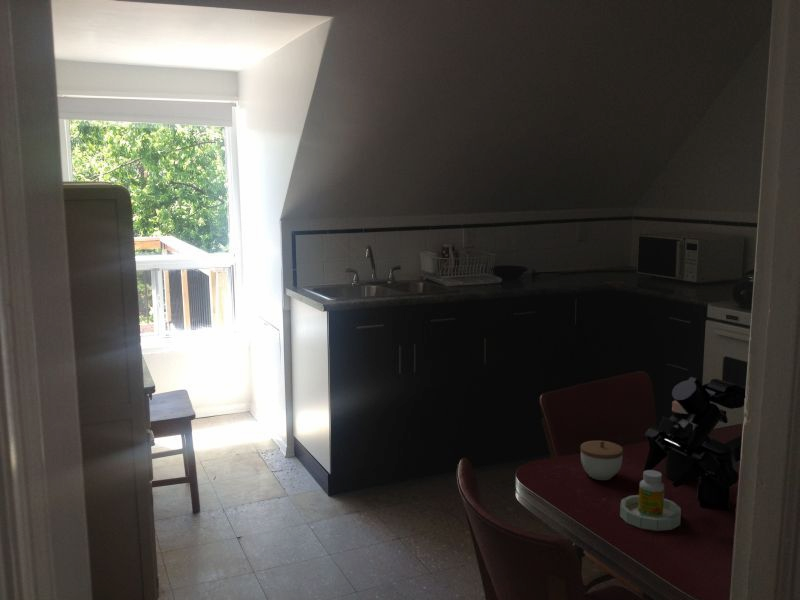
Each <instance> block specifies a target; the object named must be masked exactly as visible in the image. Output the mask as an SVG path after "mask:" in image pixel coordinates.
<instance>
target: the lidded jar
mask: <svg viewBox="0 0 800 600" xmlns="http://www.w3.org/2000/svg"><path fill="white" fill-rule="evenodd" d="M579 448H580V461H581V465H582V467H583V470H584V471H585V472H586V473H587V474H588V477H590V478H591V477H592V478H591V479H593V478H594V480H597V481H609V479H610V480H612V479H613V478H612V477H615V476H616V474H618V473H619V471H620V469H621V467H622V463H623V455H624V448H623V447H622V446H621V445H619V444H617V443H614V442H612V441H607V440H588V441H584V442H583V443H581V444H580V447H579ZM611 478H612V479H611Z"/></svg>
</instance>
